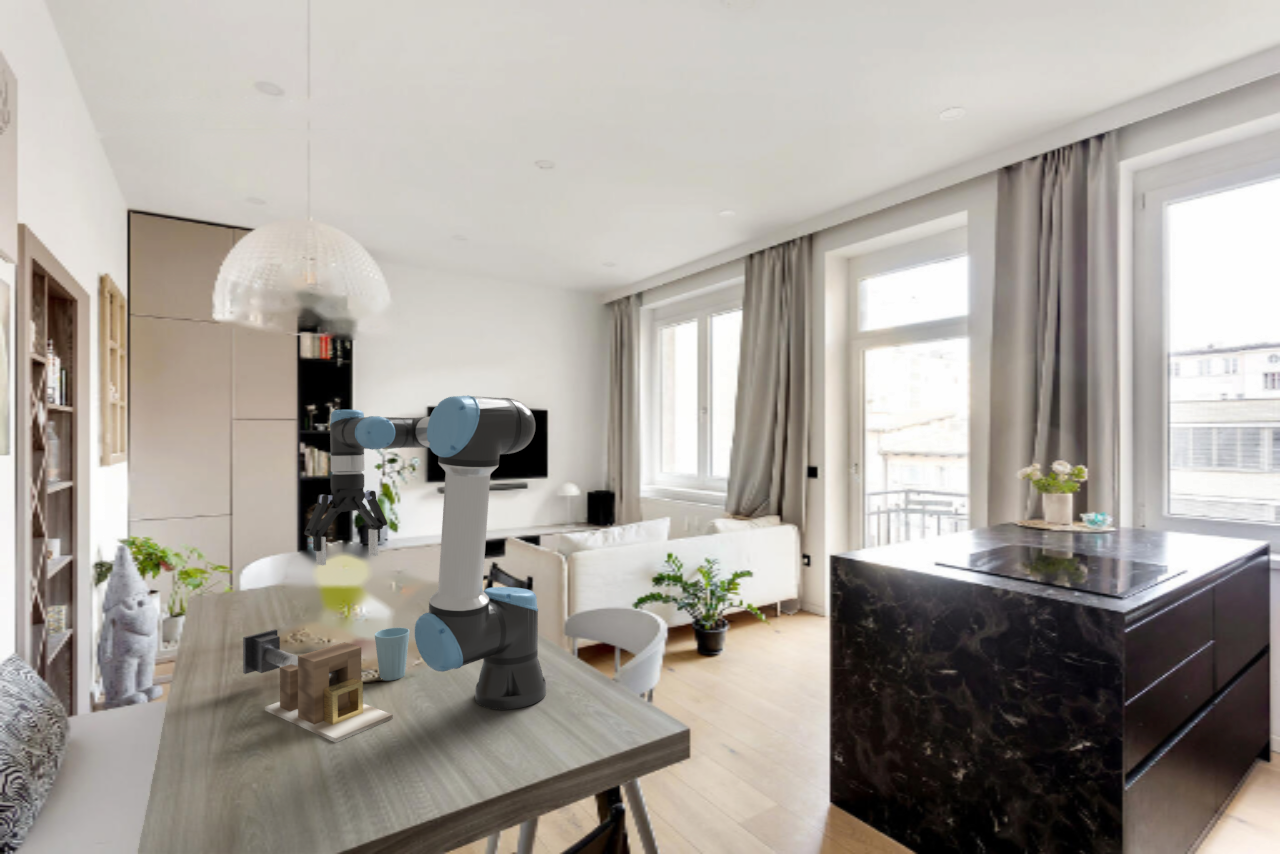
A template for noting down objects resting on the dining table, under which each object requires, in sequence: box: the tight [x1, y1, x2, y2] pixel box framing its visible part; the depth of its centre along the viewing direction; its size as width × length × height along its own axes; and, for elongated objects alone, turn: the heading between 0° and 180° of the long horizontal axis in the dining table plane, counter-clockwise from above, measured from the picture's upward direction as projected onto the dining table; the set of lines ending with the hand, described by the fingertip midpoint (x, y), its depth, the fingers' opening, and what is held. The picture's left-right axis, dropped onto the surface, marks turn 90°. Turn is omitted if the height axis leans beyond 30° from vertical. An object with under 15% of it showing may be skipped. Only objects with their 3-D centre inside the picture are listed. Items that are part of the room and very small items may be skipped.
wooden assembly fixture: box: [264, 641, 394, 743], centre depth 131 cm, size 26×12×13 cm, turn 56°
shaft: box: [242, 629, 338, 684], centre depth 138 cm, size 29×7×8 cm, turn 56°
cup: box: [374, 627, 410, 682], centre depth 151 cm, size 8×8×10 cm
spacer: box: [324, 678, 364, 725], centre depth 128 cm, size 3×6×6 cm, turn 146°
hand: (348, 559), depth 156 cm, fingers open, 13 cm apart
